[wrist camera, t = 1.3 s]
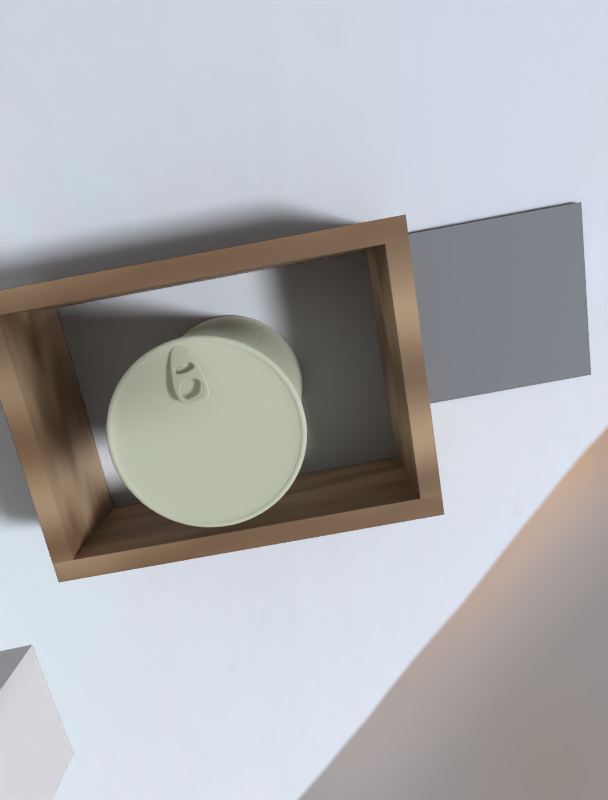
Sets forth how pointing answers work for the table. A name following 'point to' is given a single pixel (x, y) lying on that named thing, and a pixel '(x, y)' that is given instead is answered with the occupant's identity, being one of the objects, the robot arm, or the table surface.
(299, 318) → the table surface
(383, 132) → the table surface
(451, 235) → the mat
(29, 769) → the robot arm
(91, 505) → the crate
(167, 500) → the can
